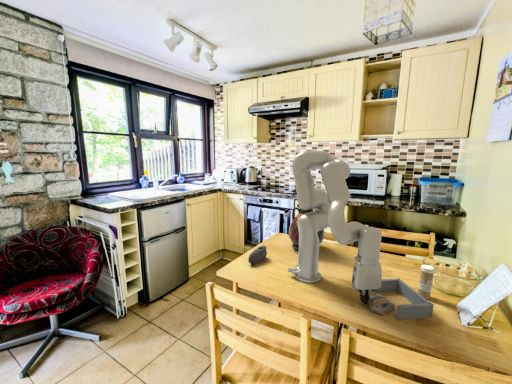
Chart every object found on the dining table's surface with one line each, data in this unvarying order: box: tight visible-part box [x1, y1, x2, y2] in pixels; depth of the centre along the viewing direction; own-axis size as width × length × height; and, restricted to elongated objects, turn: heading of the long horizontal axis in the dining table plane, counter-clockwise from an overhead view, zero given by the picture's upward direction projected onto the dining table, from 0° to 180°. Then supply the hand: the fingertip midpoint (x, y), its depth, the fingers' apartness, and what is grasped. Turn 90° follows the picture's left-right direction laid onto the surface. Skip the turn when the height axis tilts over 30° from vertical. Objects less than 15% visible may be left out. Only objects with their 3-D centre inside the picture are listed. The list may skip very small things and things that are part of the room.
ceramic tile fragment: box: [369, 292, 397, 316], centre depth 94 cm, size 12×3×10 cm
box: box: [371, 278, 435, 320], centre depth 96 cm, size 13×18×5 cm
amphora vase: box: [288, 203, 325, 253], centre depth 147 cm, size 22×22×28 cm
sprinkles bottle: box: [417, 264, 436, 300], centre depth 100 cm, size 5×5×14 cm
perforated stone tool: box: [248, 245, 268, 265], centre depth 131 cm, size 15×5×7 cm, turn 141°
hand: (363, 302), depth 95 cm, fingers closed
